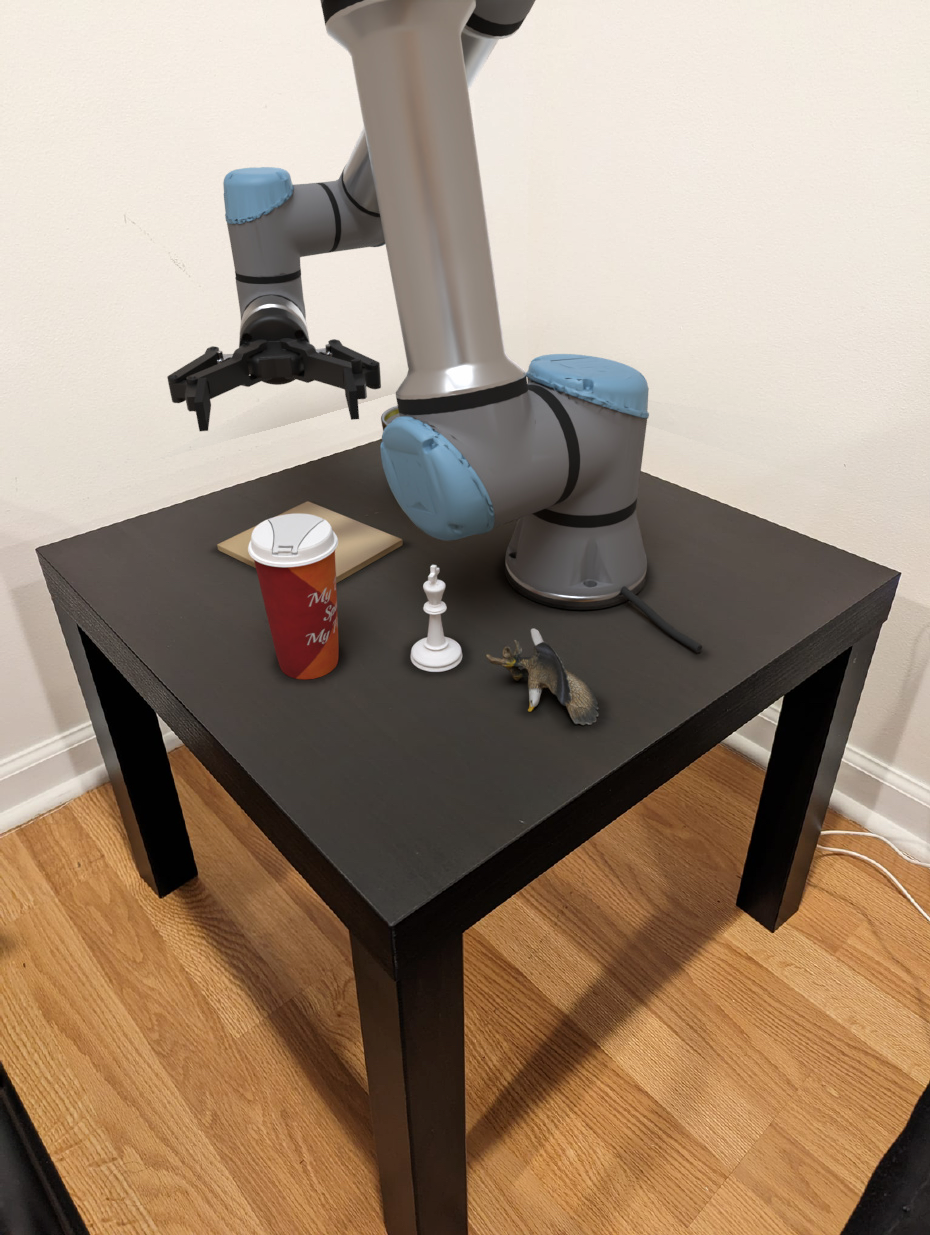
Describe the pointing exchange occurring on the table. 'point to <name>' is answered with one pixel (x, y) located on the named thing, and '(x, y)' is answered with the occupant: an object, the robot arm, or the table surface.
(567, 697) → the eagle figurine
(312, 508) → the birch board
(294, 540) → the paper cup
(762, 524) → the table surface
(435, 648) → the chess piece
